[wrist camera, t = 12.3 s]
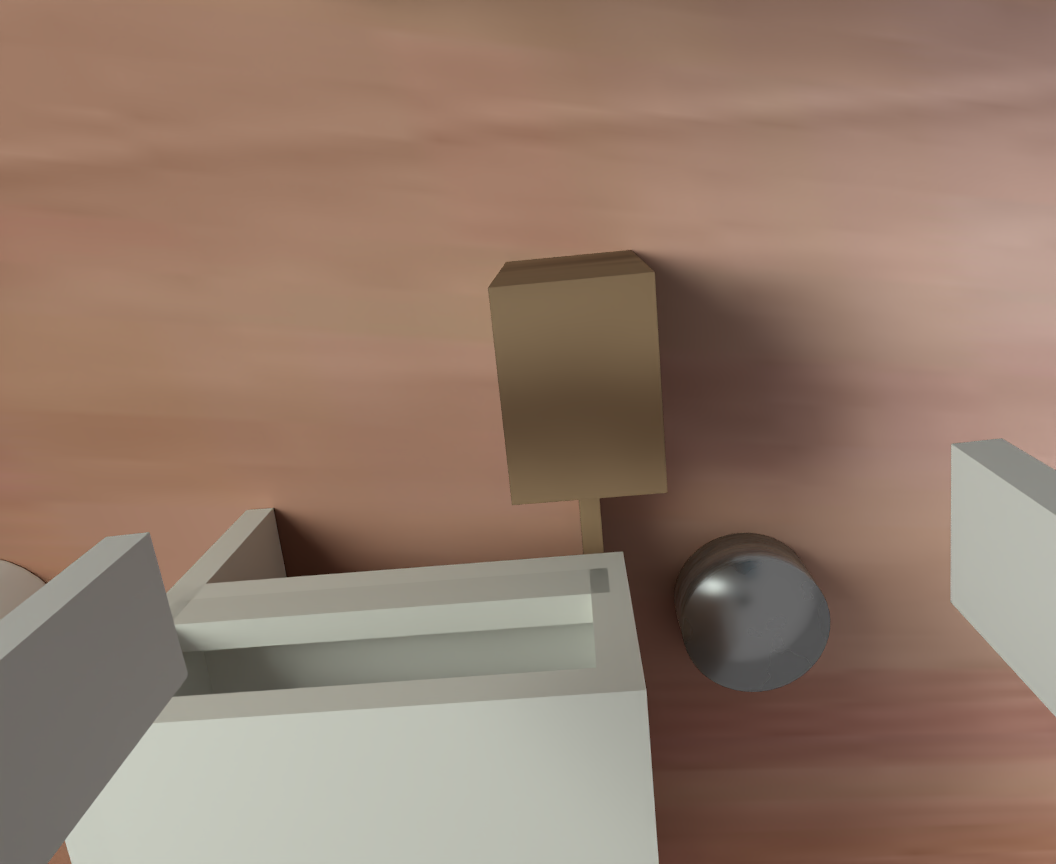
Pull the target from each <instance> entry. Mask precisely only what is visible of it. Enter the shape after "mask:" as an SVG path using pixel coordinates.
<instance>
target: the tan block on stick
mask: <svg viewBox="0 0 1056 864" xmlns="http://www.w3.org/2000/svg"><path fill="white" fill-rule="evenodd" d="M488 292H489V301H490V310H491V319H492V328H493V337H494V347H495V356H496V365H497V374H498V383H499V392H500V401H501V410H502V419H503V428H504V437H505V446H506V455H507V464H508V473H509V482H510V492H511V501H512V505H520V504H533V503H545V502H558V501H570V500H579V509H580V521H581V532H582V543H583V555H584V554H597V553H604V549H603V537H602V525H601V512H600V500H599V498H608V497H621V496H633V495H646V494H658V493H667V476H666V459H665V441H664V424H663V407H662V390H661V372H660V355H659V338H658V321H657V303H656V286H655V272H654V271H653V270H652V269H651V268H650V267H649V266H648V265H647V264H646V263H645V262H643V261H642V260H641V259H640V258H639V257H638V256H637V255H636V254H635V253H634V252H633V251H632V250H625V251H615V252H605V253H594V254H584V255H574V256H563V257H553V258H543V259H533V260H522V261H512V262H506V263H505V264H504V266H503V267H502V269H501V270H500V272H499V273H498V274H497V276H496V277H495V279H494V280H493V282H492V283H491V284H490V286H489V287H488Z"/></svg>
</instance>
